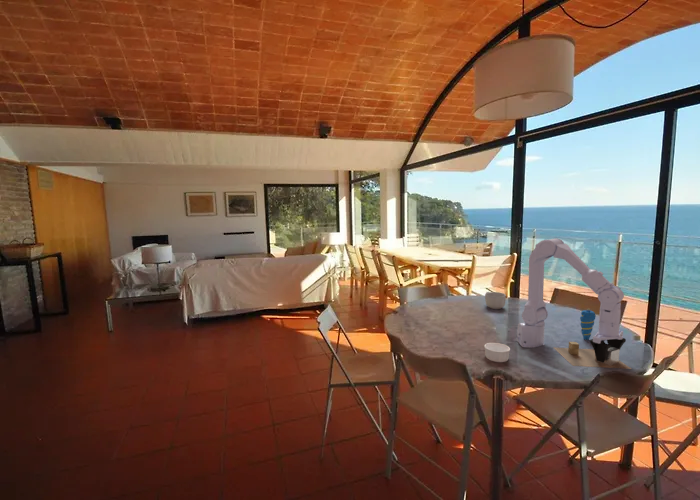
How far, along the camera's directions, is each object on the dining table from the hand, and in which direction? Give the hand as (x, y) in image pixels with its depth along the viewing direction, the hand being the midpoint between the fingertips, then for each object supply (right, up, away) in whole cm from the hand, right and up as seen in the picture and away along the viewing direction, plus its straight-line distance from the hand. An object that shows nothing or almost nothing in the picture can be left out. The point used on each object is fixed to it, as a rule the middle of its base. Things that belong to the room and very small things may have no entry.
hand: (606, 359), depth 119 cm
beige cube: (0, -1, 0) cm, 1 cm away
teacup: (-8, +5, +75) cm, 76 cm away
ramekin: (-35, -2, +8) cm, 36 cm away
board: (-3, -2, +4) cm, 6 cm away
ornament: (+8, 0, +21) cm, 22 cm away
